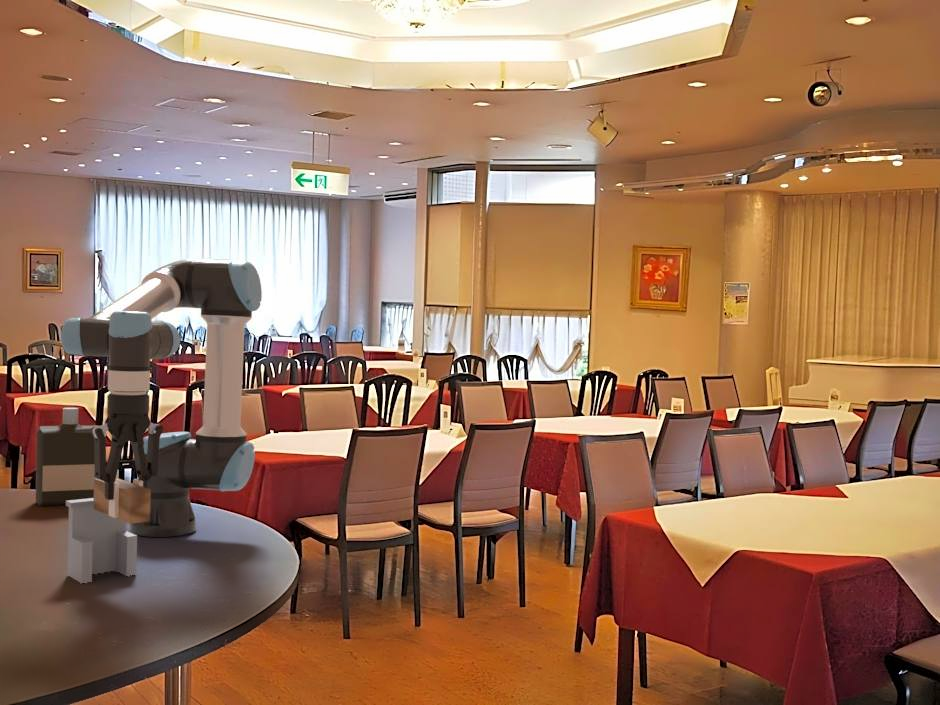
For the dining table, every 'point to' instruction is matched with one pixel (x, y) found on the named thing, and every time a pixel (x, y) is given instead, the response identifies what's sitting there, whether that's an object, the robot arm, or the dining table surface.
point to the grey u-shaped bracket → (98, 543)
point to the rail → (125, 501)
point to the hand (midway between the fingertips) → (125, 514)
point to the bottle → (64, 461)
